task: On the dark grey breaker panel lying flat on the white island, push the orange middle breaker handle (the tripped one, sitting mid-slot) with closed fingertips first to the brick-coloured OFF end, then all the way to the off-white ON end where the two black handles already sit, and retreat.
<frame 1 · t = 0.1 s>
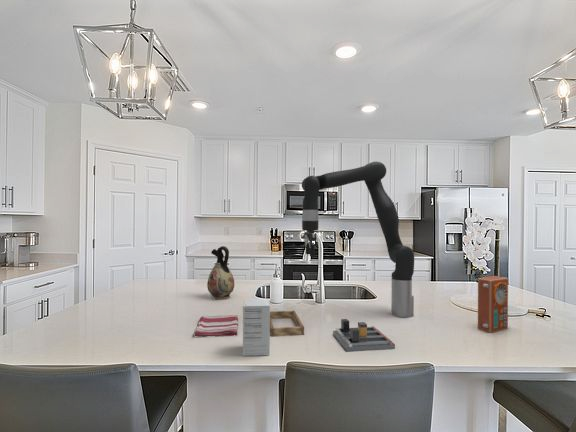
hand: (310, 255, 149), 29 cm above the worktop, fingers open, 8 cm apart
supplement box: (256, 351, 114), on the worktop
dish towel: (217, 328, 138), on the worktop
breaker panel: (362, 341, 123), on the worktop
wooden frame: (283, 325, 139), on the worktop
tripped breaker: (362, 330, 123), point 4 cm above the worktop, slide at 5.0 cm
ceramic jug: (221, 298, 187), on the worktop
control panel: (492, 329, 137), on the worktop
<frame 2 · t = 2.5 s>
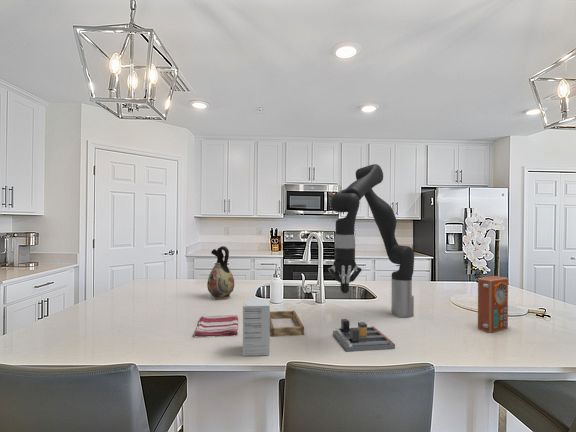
hand: (344, 292, 122), 18 cm above the worktop, fingers closed
nothing on the worktop moved.
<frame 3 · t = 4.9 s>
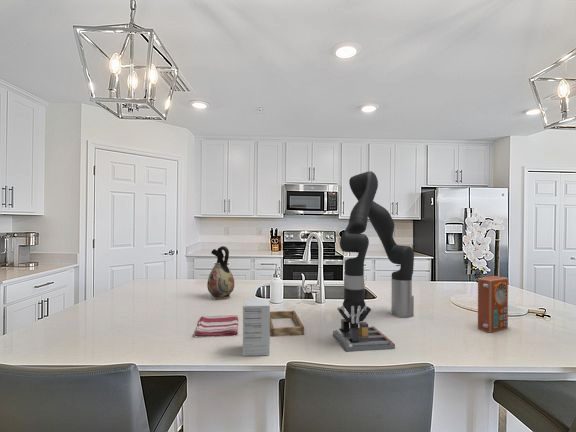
hand: (354, 332, 122), 3 cm above the worktop, fingers closed
tripped breaker: (363, 330, 123), point 4 cm above the worktop, slide at 4.4 cm, touching gripper
everything else where it was.
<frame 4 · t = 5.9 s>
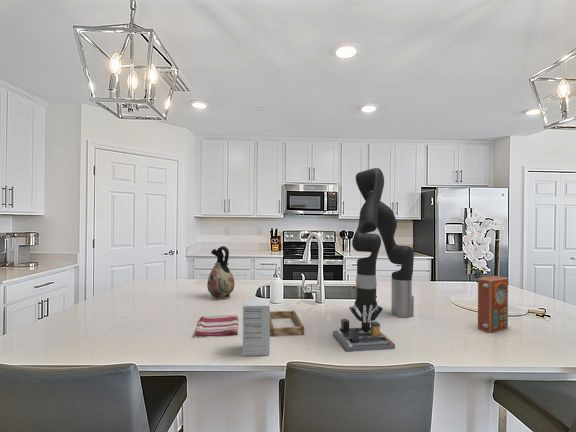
hand: (365, 331, 123), 3 cm above the worktop, fingers closed
tripped breaker: (375, 329, 123), point 4 cm above the worktop, slide at -0.1 cm, touching gripper
everything else where it was.
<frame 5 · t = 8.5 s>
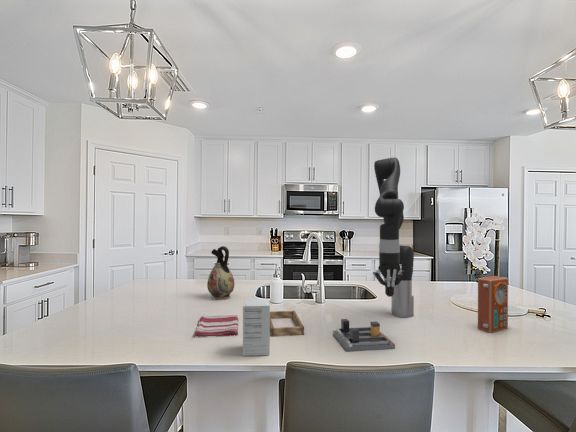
hand: (389, 296, 125), 17 cm above the worktop, fingers closed
tripped breaker: (375, 329, 123), point 4 cm above the worktop, slide at 0.0 cm
everything else where it was.
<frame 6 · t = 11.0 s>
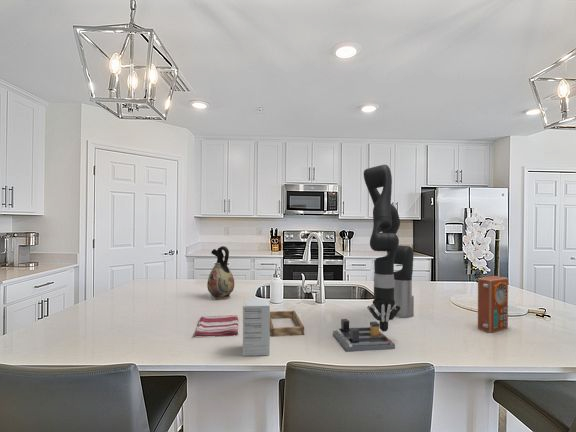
hand: (383, 330, 124), 4 cm above the worktop, fingers closed
tripped breaker: (374, 329, 123), point 4 cm above the worktop, slide at 0.1 cm, touching gripper
everything else where it was.
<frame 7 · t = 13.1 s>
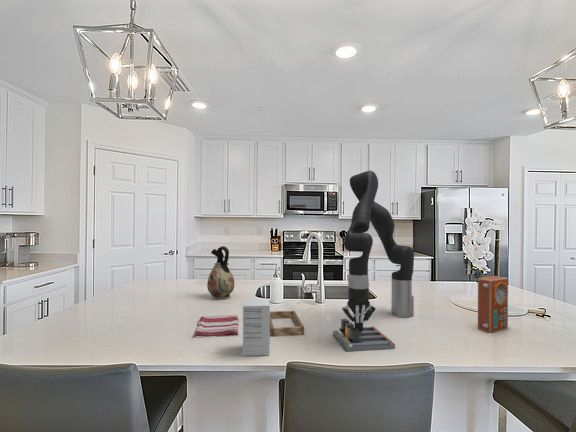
hand: (358, 331, 122), 4 cm above the worktop, fingers closed
tripped breaker: (349, 330, 122), point 4 cm above the worktop, slide at 10.1 cm, touching gripper
everything else where it was.
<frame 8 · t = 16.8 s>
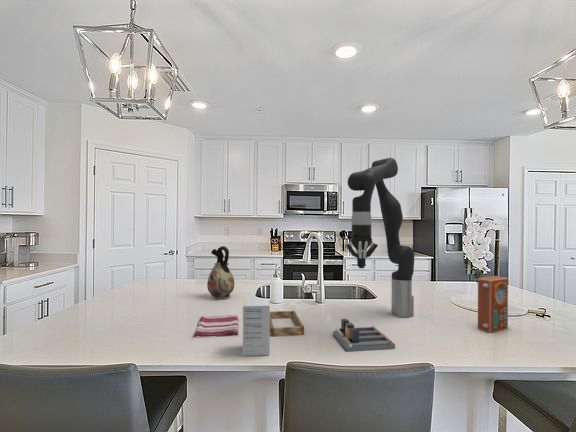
hand: (361, 267, 127), 27 cm above the worktop, fingers closed
tripped breaker: (349, 330, 122), point 4 cm above the worktop, slide at 10.0 cm
everything else where it was.
at the end: tripped breaker slide at 10.0 cm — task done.
